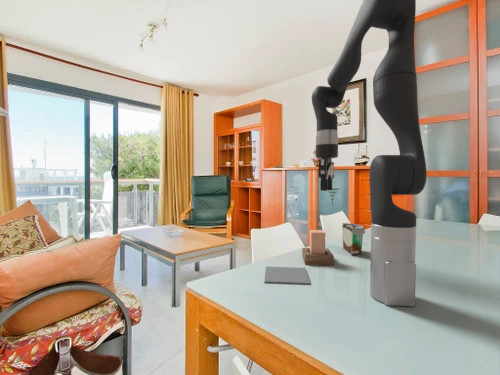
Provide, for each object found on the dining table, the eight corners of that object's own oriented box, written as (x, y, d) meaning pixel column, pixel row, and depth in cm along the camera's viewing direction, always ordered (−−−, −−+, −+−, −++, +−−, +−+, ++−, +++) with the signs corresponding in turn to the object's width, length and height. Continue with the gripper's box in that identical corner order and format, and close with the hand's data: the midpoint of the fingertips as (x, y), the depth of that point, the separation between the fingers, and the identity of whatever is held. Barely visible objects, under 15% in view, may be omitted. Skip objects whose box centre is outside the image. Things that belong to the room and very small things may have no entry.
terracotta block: (325, 262, 89) (325, 232, 89) (311, 262, 89) (311, 232, 89) (322, 258, 93) (323, 230, 93) (309, 258, 94) (309, 229, 93)
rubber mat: (310, 284, 71) (310, 282, 71) (264, 282, 72) (264, 281, 72) (305, 269, 83) (305, 267, 83) (265, 267, 84) (265, 266, 84)
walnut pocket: (333, 265, 86) (333, 255, 86) (305, 264, 87) (305, 255, 87) (328, 257, 95) (328, 248, 95) (302, 256, 96) (302, 247, 96)
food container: (370, 256, 96) (370, 228, 95) (352, 256, 96) (353, 228, 95) (357, 247, 108) (357, 223, 108) (341, 247, 108) (342, 222, 108)
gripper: (334, 140, 87) (333, 191, 87) (341, 146, 99) (340, 190, 100) (311, 142, 90) (310, 190, 91) (320, 147, 103) (320, 189, 103)
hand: (326, 190), depth 95 cm, fingers open, 8 cm apart
